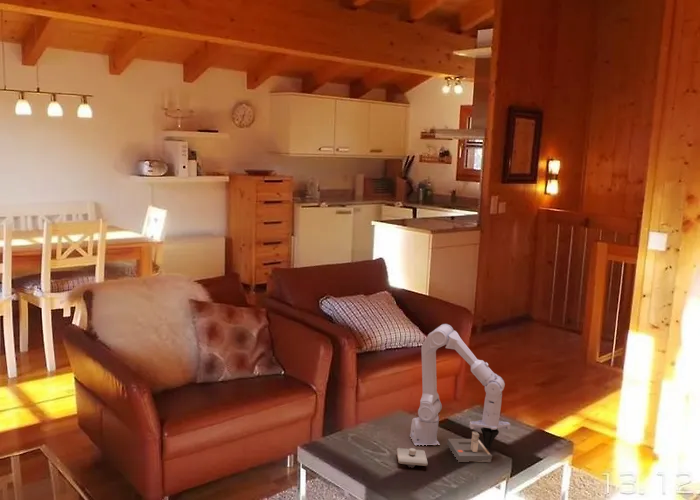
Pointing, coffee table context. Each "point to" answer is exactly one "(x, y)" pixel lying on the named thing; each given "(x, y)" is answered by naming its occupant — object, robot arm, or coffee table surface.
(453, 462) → the coffee table surface
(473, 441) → the breaker
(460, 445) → the grey flat block
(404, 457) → the light switch
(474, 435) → the breaker
